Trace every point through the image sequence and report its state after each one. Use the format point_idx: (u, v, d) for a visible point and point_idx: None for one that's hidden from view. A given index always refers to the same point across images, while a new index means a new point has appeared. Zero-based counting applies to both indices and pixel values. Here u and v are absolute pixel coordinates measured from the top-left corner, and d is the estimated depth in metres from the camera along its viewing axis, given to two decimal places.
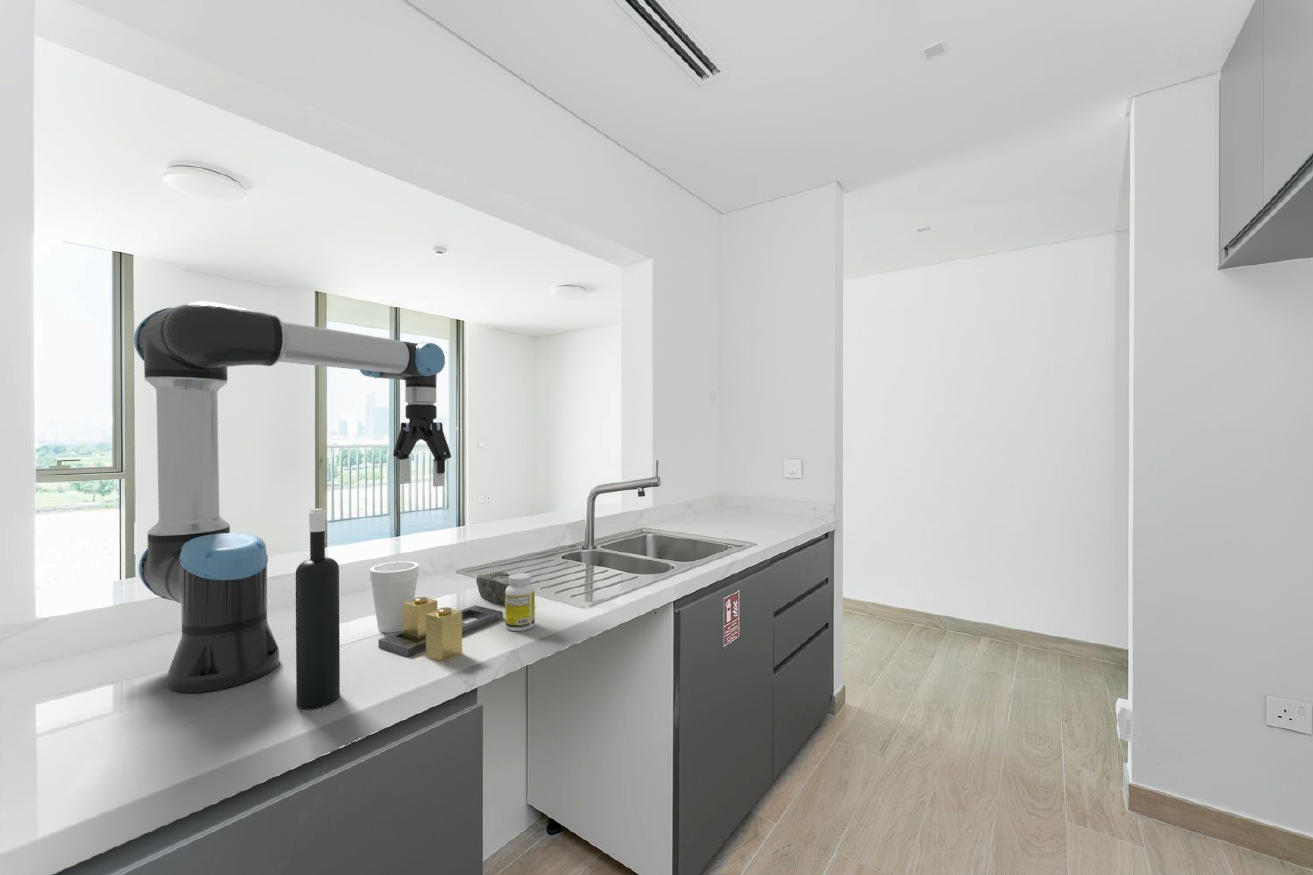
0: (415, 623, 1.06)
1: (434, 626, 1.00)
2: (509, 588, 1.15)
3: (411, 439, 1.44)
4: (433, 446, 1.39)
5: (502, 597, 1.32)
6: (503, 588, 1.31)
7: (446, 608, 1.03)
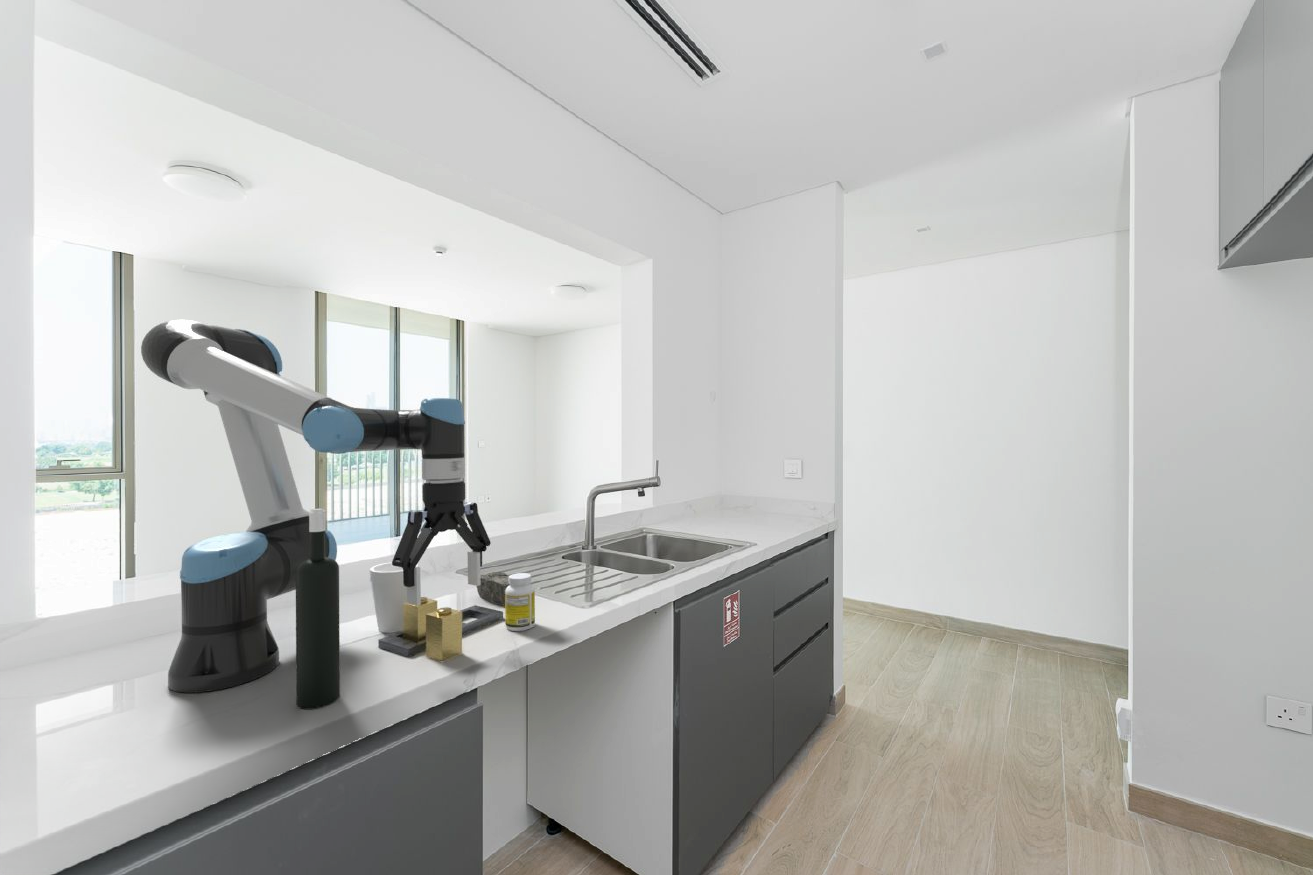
0: (415, 623, 1.06)
1: (435, 626, 1.00)
2: (509, 588, 1.15)
3: (454, 527, 1.05)
4: (414, 544, 0.97)
5: (500, 597, 1.32)
6: (500, 588, 1.31)
7: (446, 608, 1.03)
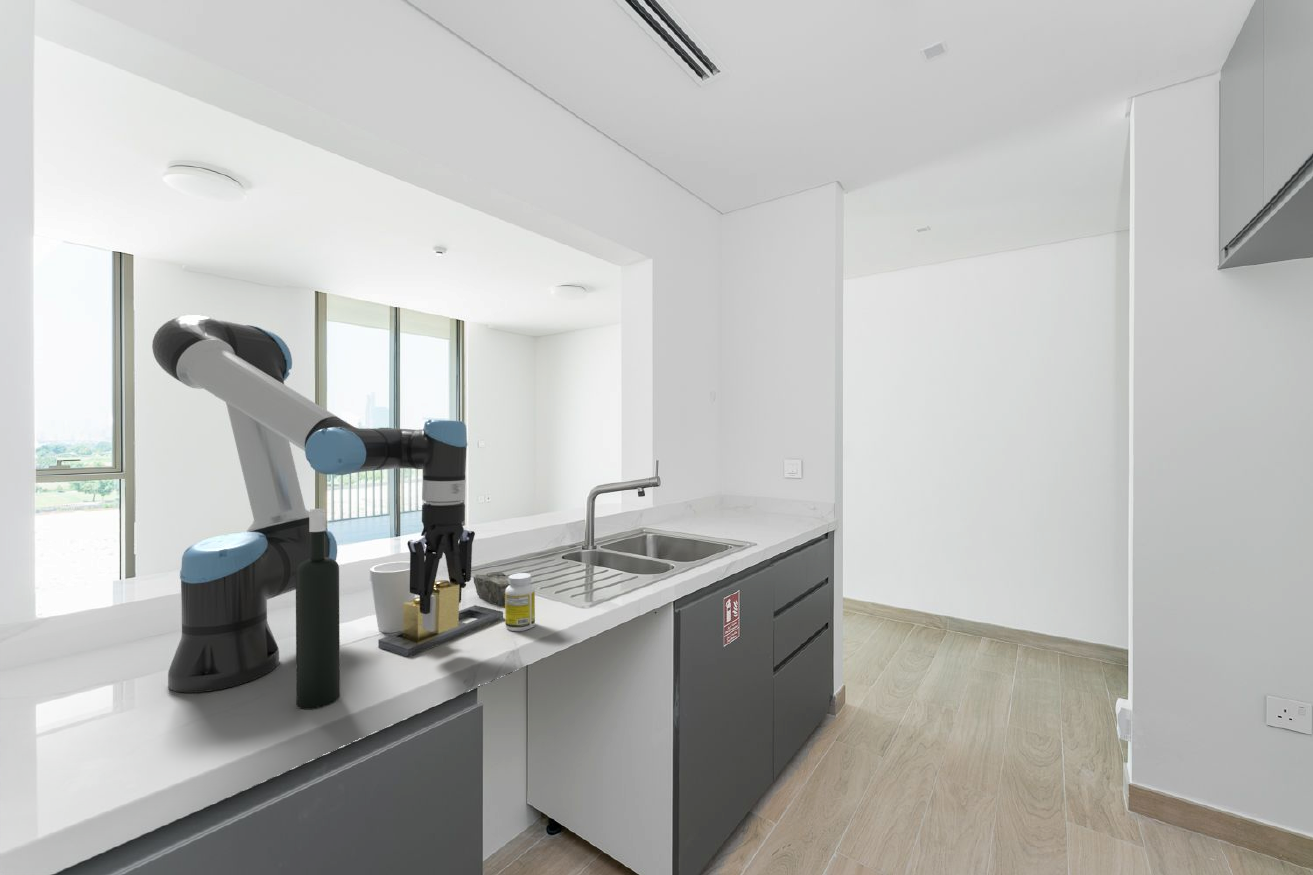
0: (415, 623, 1.06)
1: None
2: (509, 588, 1.15)
3: (446, 551, 1.04)
4: None
5: (497, 597, 1.32)
6: (498, 588, 1.31)
7: (444, 581, 1.03)
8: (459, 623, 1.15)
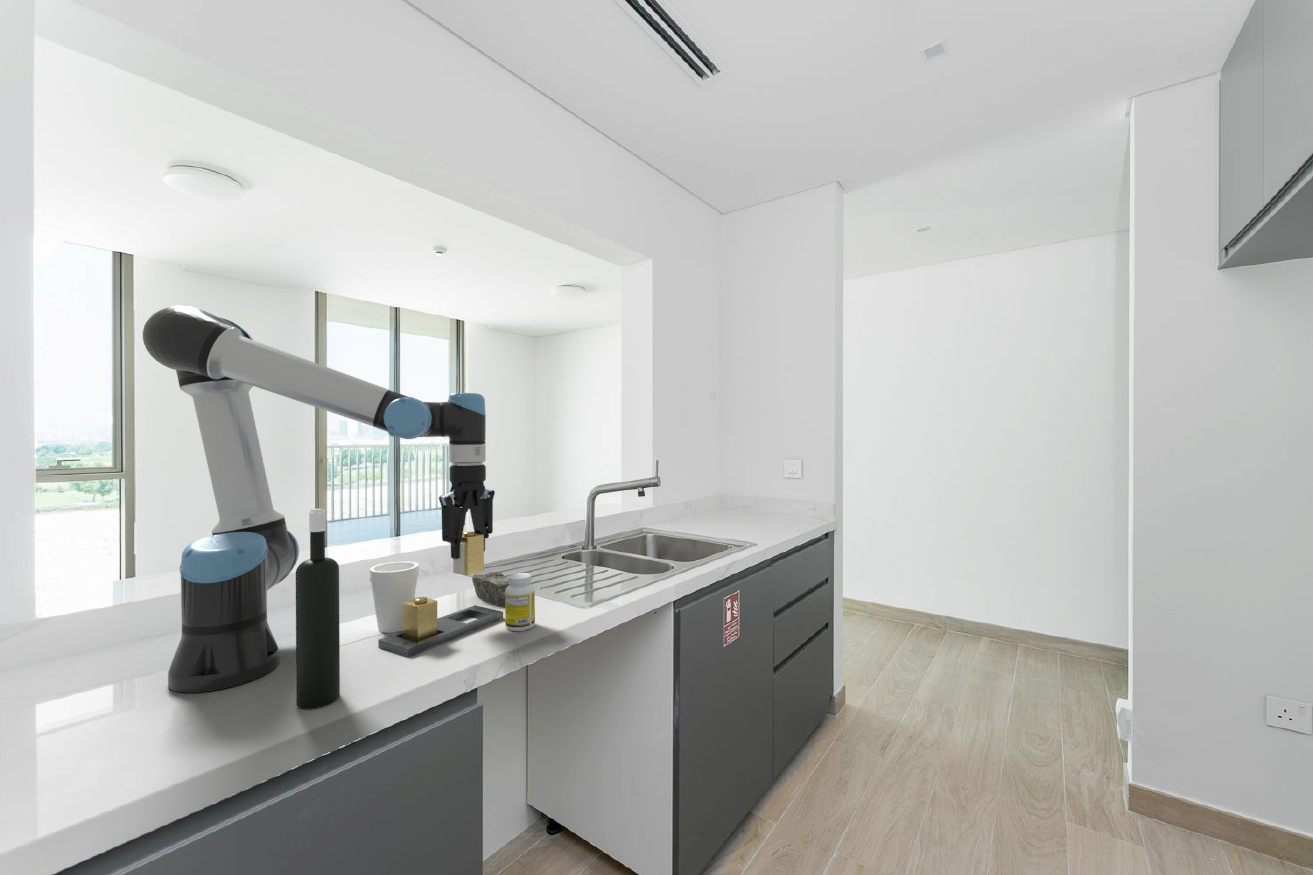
0: (415, 623, 1.06)
1: None
2: (509, 588, 1.15)
3: (470, 507, 1.21)
4: None
5: (495, 597, 1.32)
6: (495, 588, 1.31)
7: (470, 532, 1.20)
8: (459, 623, 1.15)
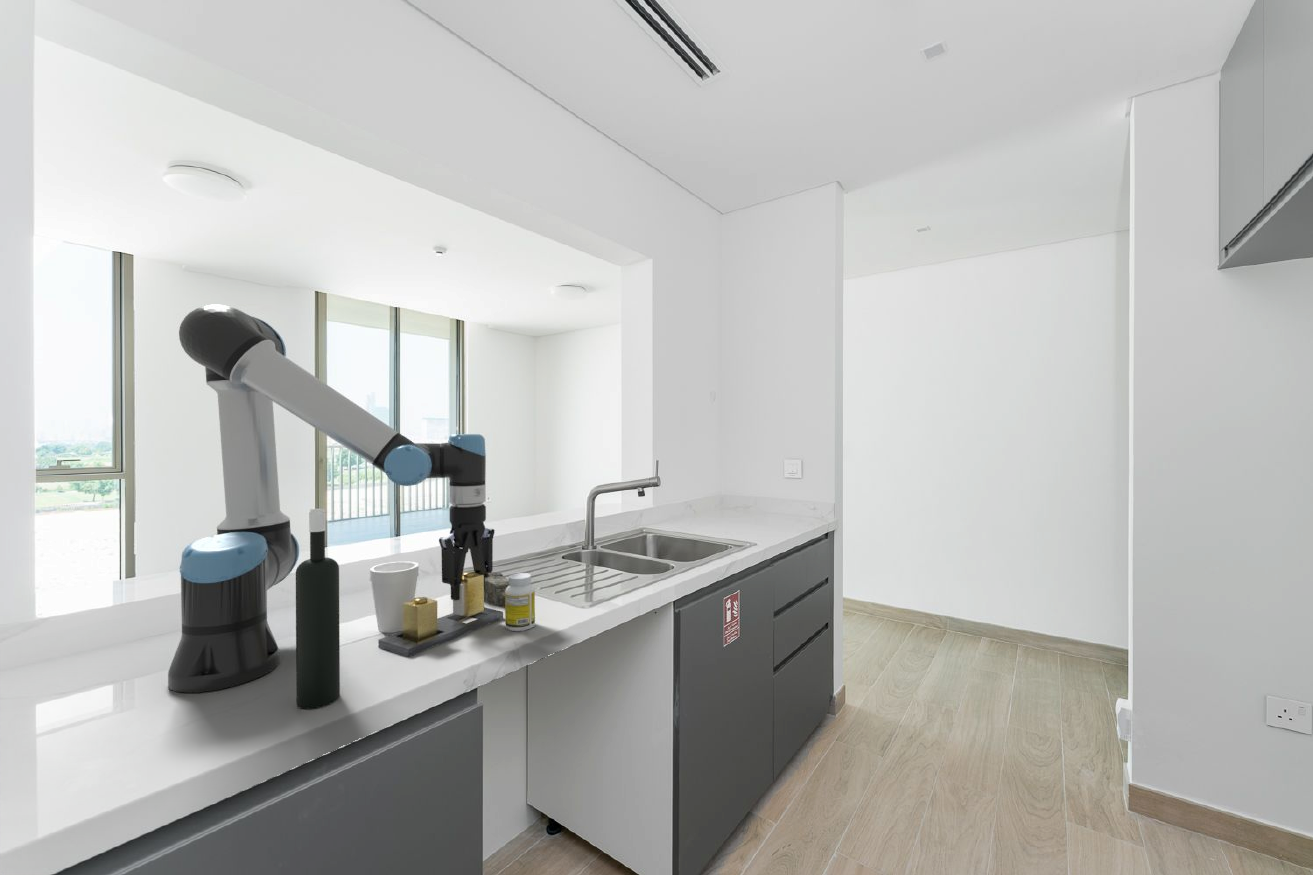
0: (415, 623, 1.06)
1: None
2: (509, 588, 1.15)
3: (470, 547, 1.21)
4: None
5: (493, 598, 1.32)
6: (494, 589, 1.31)
7: (470, 572, 1.20)
8: (459, 623, 1.15)
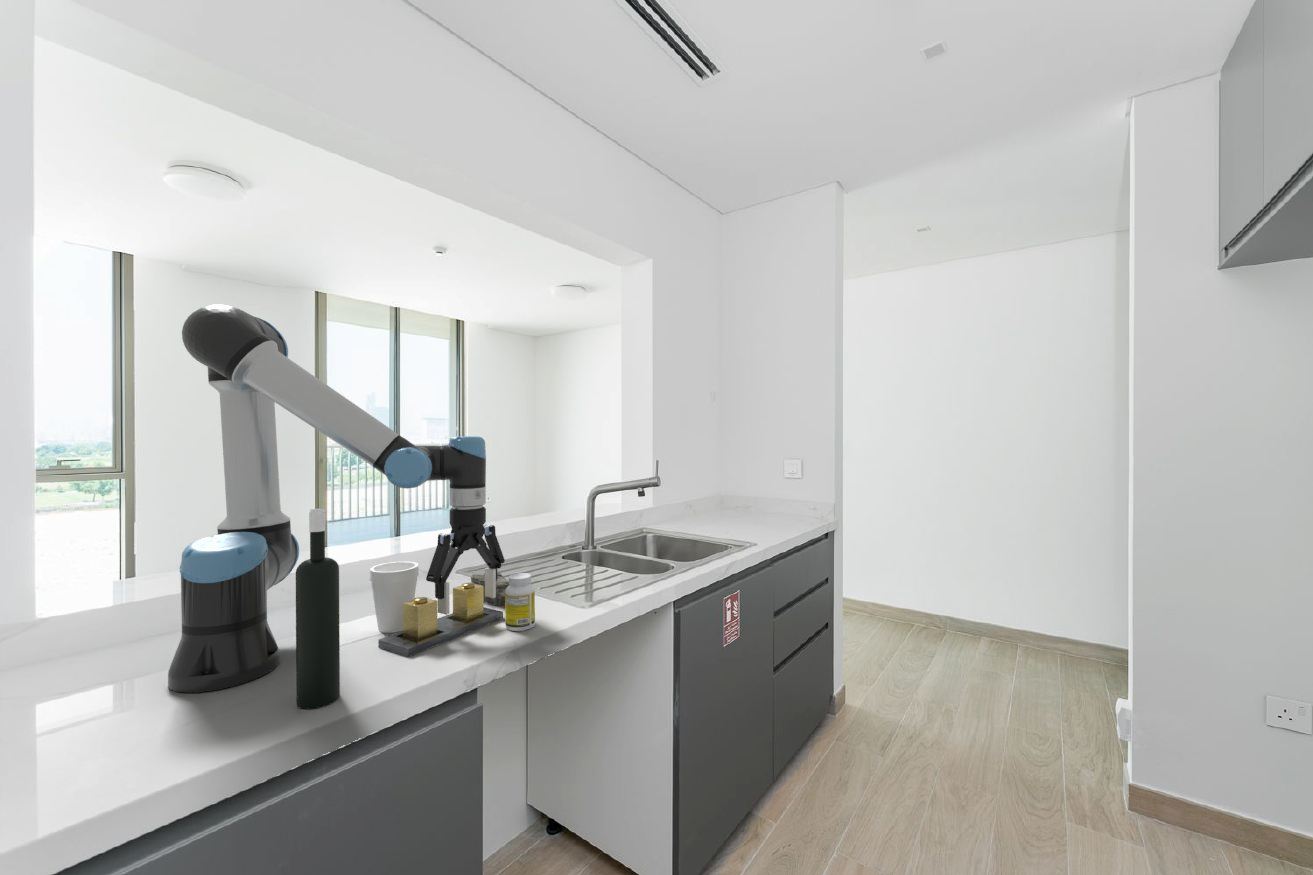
0: (415, 623, 1.06)
1: (460, 598, 1.17)
2: (509, 588, 1.15)
3: None
4: (443, 562, 1.15)
5: (492, 598, 1.32)
6: None
7: (470, 583, 1.20)
8: (459, 623, 1.15)
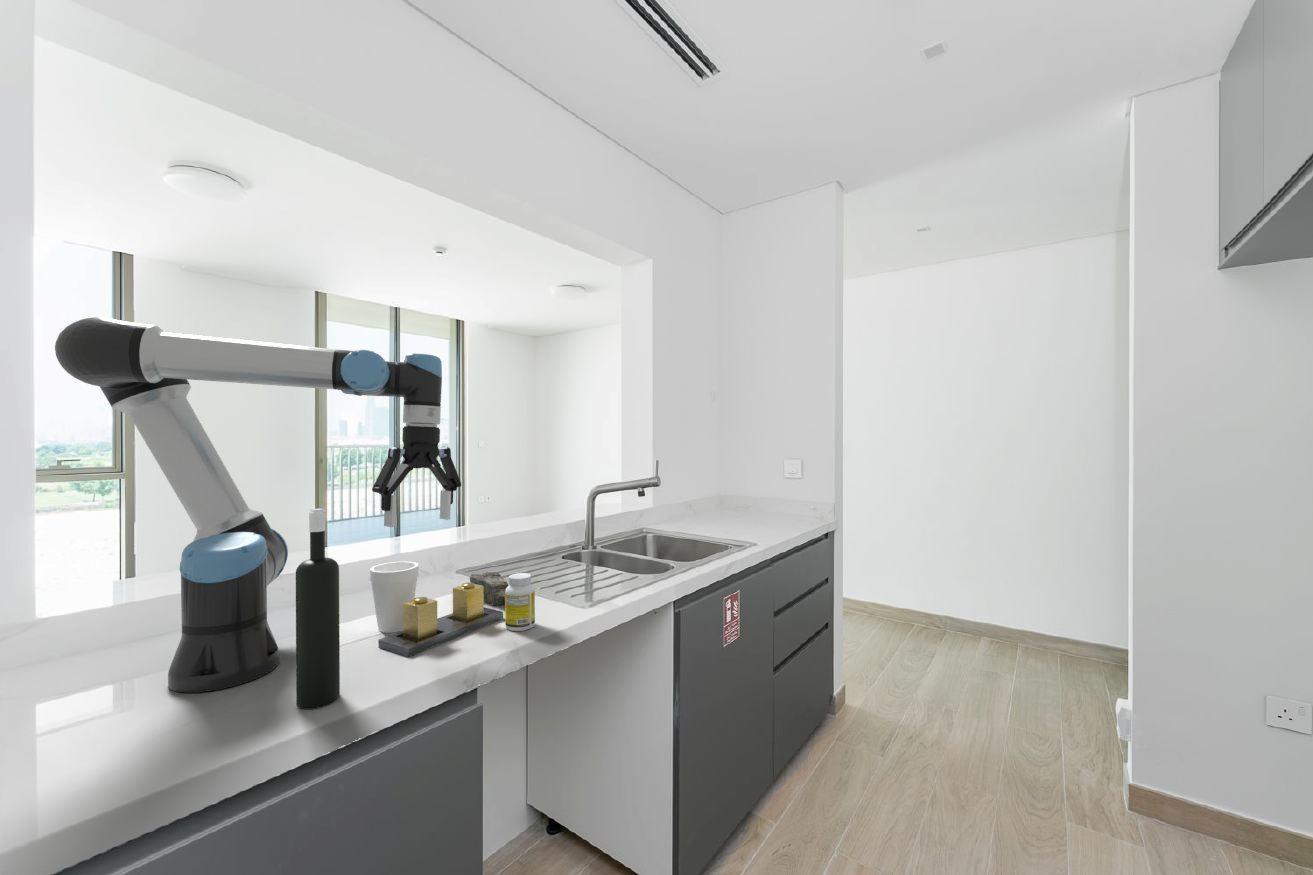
0: (415, 623, 1.06)
1: (460, 598, 1.17)
2: (509, 588, 1.15)
3: (429, 467, 1.22)
4: (392, 476, 1.14)
5: (490, 597, 1.32)
6: (490, 589, 1.31)
7: (470, 583, 1.20)
8: (459, 623, 1.15)
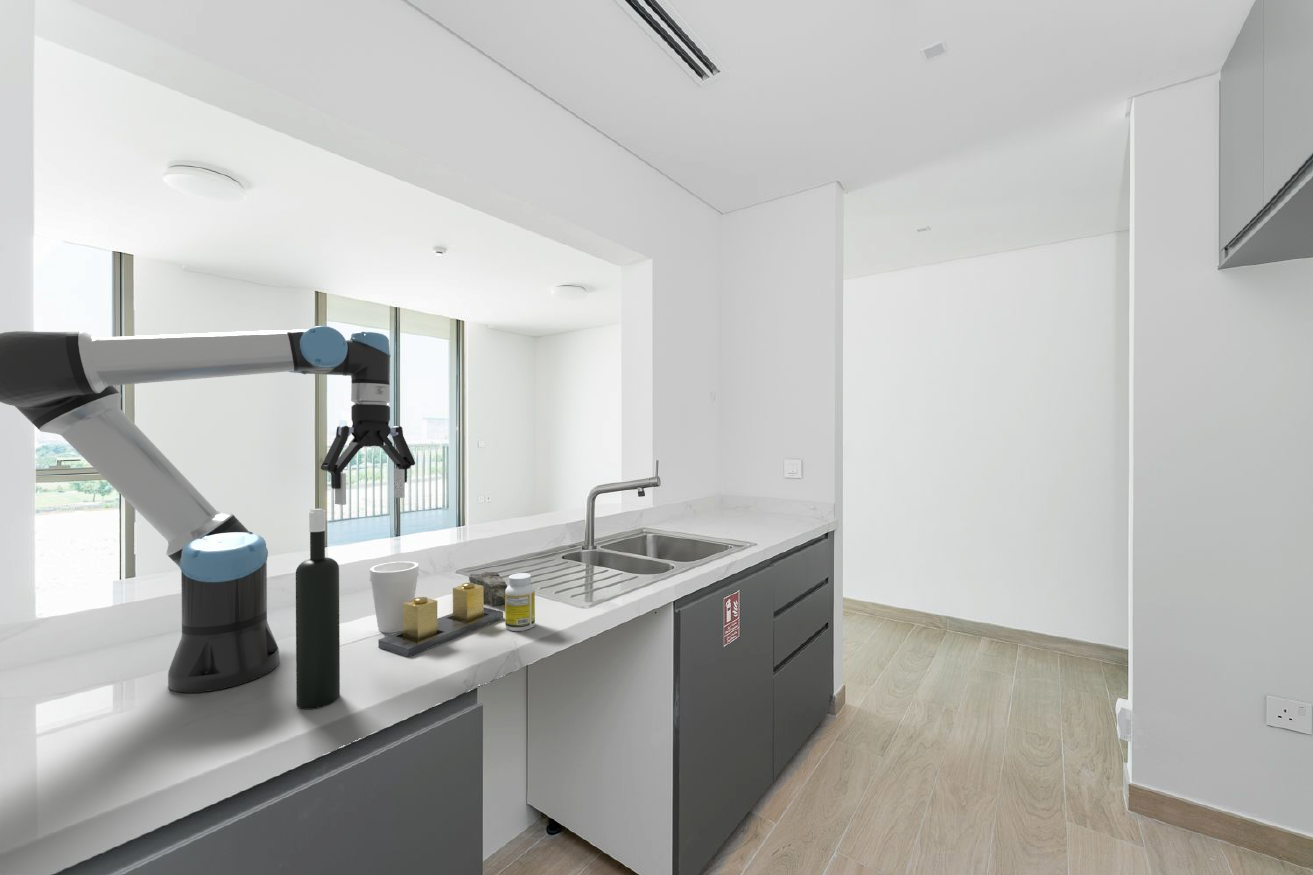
0: (415, 623, 1.06)
1: (460, 598, 1.17)
2: (509, 588, 1.15)
3: (381, 446, 1.22)
4: (342, 455, 1.15)
5: (488, 597, 1.32)
6: (488, 588, 1.31)
7: (470, 583, 1.20)
8: (459, 623, 1.15)
